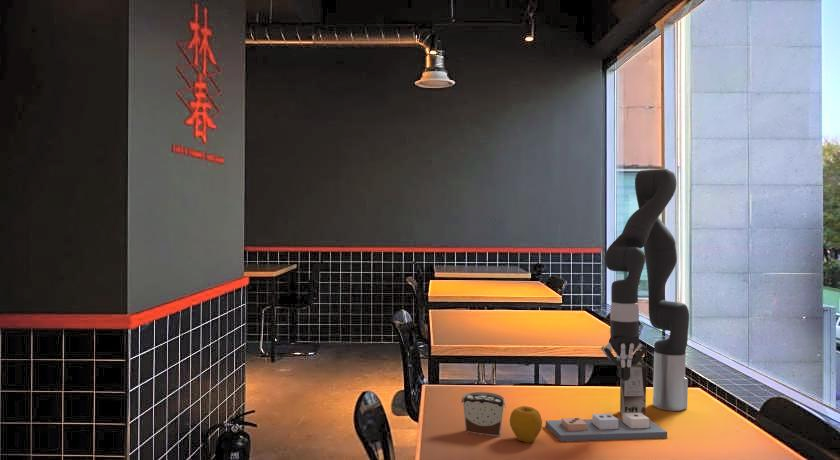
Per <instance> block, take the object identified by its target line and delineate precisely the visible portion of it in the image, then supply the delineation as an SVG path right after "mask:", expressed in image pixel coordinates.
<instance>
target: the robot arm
mask: <svg viewBox="0 0 840 460" xmlns="http://www.w3.org/2000/svg"><path fill="white" fill-rule="evenodd" d="M676 189H677V177H676V175H675V173H674V171H673V170H672V169H670V168H656V169H644V170H640V171H638V172H637V173H636V175H635V178H634V190H635V196H636V200H637V206H638V209H637V210H635V211H634V212H633V213H631V216H629V218H628V220H627V221H626V223H625V225H624V228H623V230H622V232H621V234H619V235H618V236H617V238H616V239H615V240H614V241H613V242H612V243H611V244H610V245H609V246H608V248H607V250H606V251H605V254H604V264H605V267H606V268H607V269H608V270H609V271H613V272H620V273H623V272H624V273H625V272H626V273H627V276H626V278H624V279H617V280H614V281H613V282H612V283H611V287H610V288H611V289H610V292H611V294H610V295H611V297H610V299H611V301H610V302H611V303H610V310H609V311H610V313H609V314H610V315H609V317H610V319H609V320H610V323H609V326H610V327H609V329H610V330H609V334H610V337H609V340H608V343H607V344H606V345H605V346H602V347H601V351H602V352H603V354H605V356H606V357H607V358H608V360H609V361H610V363H612V364H613V365H615V366H617V367H618V372H617V373H618V378H620V381H621V380H623V381H628V378H630V367H631V366H632V365H636V364H637V363H638V362H639V361H641V359H642V358H643V356H644V355H645V353H647V351H648V347H647V346H645V345H643V344H642V343H641V340H640V338H639V334H640V333H639V332H640V329H639V328H640V327H639V325H640V321H639V320H640V314H639V313H640V312H639V311H640V310H639V285H640V280H641V276H642V273H643V270H644V267H645V266H646V274H647V275H646V277H647V285H648V287H647V288H648V291H647V292H648V295H647V296H648V298H647V299H648V318H649V323H650V325H651V326H652V327H653V328H654V329H657V330H660V331H661V330H662V331H668V332H669V336H668V338H666V339H661V340H658V341H655V342H654V345H653V383H652V384H653V387H652V389H653V392H652V405H653V407H654V408H657V409H659V410H664V411H672V412H675V411H676V412H677V411H683V410H688V394H689V393H688V392H689V391H688V390H689V387H688V386H689V379H688V378H687V377H686V353H687V352H686V351H687V346H688V338H689V326H690V325H689V324H690V313H689V312H690V311H689V307H688V306H687V305H686V304H685V303H682V302H678V301H677V302H676V301H669V300H667V299H666V296H665V295H666V294H665V293H666V292H665V290H666V289H665V288H666V283H667V281H669V278H670V276H671V275H672V273H673V271H674V269H675V267H676V264H677V260H678V255H677V245H676V244H677V243H676V240H675V238H674V235H673V234H672V232H671V231H670V230H669V229H668V227H667V226H666V225H665V224H664V223H663V221H662V220H661V218H660V216H661V215H662V213H663V212H664V210H665V209H666V207H667V205H668V204H669V203H670V202H671V200H672V198H673V197H674V195H675V193H676ZM642 249H643V250H642ZM613 351H614V353H615V355H614V354H613V353H612V352H613Z"/></svg>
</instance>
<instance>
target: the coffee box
mask: <svg viewBox="0 0 840 460" xmlns="http://www.w3.org/2000/svg"><path fill="white" fill-rule="evenodd" d="M647 367H648V366H646V364H645V363H644V362H643V360H639V362H638V363H637V364H636V365H632V366H631V367H630V378H628V381H623V380H621V379H620V382H619V383H620V384H619V385H620V387H619V388H620V390H619V394H620V397H619V398H620V399H619V400H620V401H619V406H620V407H619V412H620V414H621V417H622V418H623V413H642V414H643V415H645V416H646V408H647V407H646V404H647V403H646V402H647V401H646V400H647V399H646V398H647V371H648V370H647Z"/></svg>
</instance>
